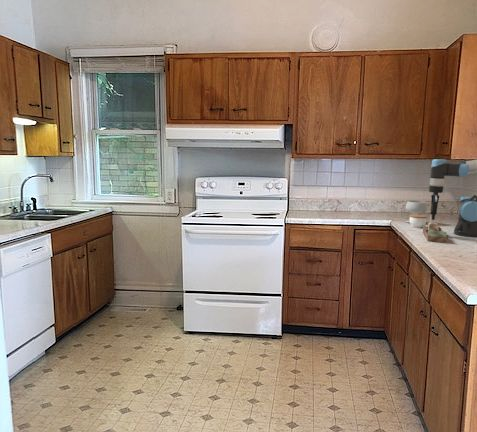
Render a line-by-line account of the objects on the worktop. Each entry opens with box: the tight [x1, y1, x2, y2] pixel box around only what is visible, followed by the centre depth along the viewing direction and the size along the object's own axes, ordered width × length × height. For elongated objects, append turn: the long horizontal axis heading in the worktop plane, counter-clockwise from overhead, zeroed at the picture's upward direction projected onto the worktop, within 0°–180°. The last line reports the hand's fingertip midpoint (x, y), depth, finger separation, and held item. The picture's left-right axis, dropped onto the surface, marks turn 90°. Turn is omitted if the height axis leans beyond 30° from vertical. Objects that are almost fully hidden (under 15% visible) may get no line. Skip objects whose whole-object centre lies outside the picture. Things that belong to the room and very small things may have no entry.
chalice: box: [405, 200, 428, 224], centre depth 296 cm, size 14×14×15 cm
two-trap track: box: [422, 224, 447, 243], centre depth 246 cm, size 9×27×6 cm, turn 162°
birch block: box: [427, 222, 439, 231], centre depth 250 cm, size 4×4×4 cm
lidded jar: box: [409, 213, 428, 229], centre depth 279 cm, size 11×11×9 cm
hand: (432, 224), depth 253 cm, fingers closed
